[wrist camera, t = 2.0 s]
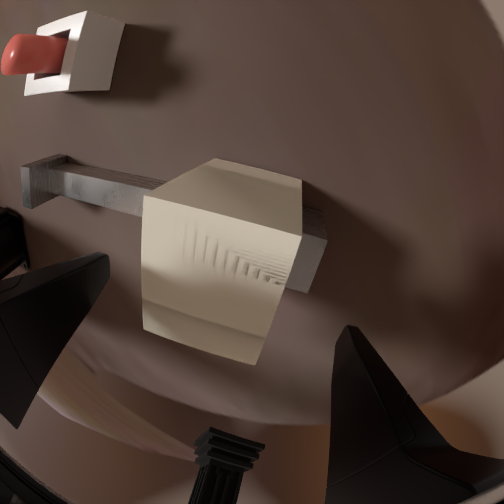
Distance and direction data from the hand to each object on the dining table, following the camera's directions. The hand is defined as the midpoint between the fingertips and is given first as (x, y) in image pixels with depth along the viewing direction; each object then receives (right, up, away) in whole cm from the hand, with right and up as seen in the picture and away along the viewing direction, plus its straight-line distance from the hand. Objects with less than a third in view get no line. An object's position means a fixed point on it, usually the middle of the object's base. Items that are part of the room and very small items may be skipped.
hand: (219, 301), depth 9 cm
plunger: (-10, +14, +2) cm, 18 cm away
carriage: (+1, +4, +7) cm, 8 cm away
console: (-10, +15, +3) cm, 18 cm away
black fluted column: (-2, -26, +23) cm, 35 cm away
